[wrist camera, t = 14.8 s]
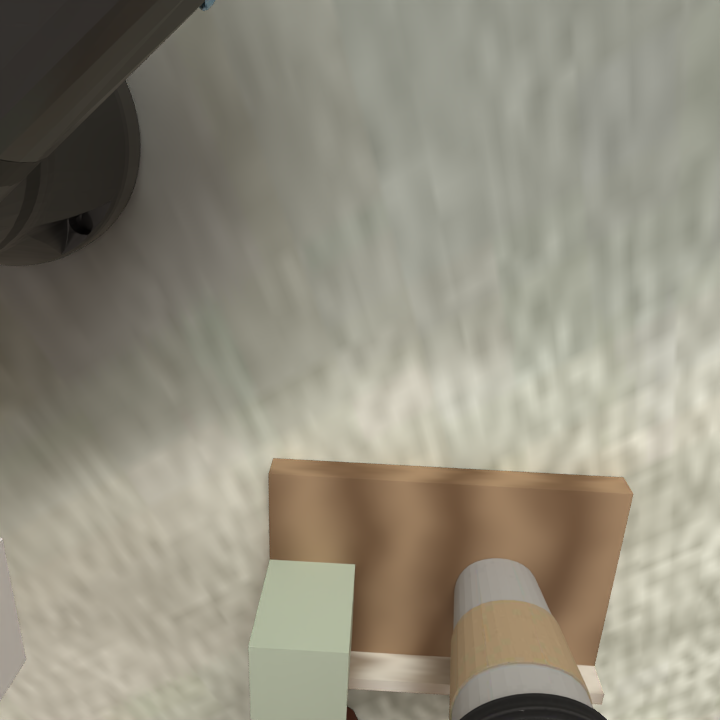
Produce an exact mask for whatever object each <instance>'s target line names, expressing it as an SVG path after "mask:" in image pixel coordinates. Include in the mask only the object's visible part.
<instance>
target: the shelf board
mask: <svg viewBox="0 0 720 720" xmlns="http://www.w3.org/2000/svg"><path fill="white" fill-rule="evenodd" d="M632 497H633V493H632V491H631V489H630V488H629V486H628V484H627V482H626V481H625V479H624V478H623V477H604V476H586V475H568V474H550V473H531V472H513V471H495V470H476V469H458V468H440V467H422V466H403V465H385V464H367V463H349V462H330V461H312V460H294V459H275V458H273V461H272V464H271V468H270V471H269V535H270V560H287V561H304V562H321V563H338V564H355V579H354V602H353V624H352V641H351V656H350V670H349V685H348V689H360V690H376V691H392V692H409V693H425V694H441V695H450V660H451V638H452V634H453V623H454V589H455V585H456V581H457V579H458V577H459V575H460V574H461V573H462V571H463V570H464V569H465V568H467V567H468V566H469V565H471V564H473V563H475V562H477V561H480V560H484V559H491V558H502V559H509V560H512V561H516V562H518V563H520V564H522V565H524V566H525V567H527V568H528V569H529V570H530V571H531V573H532V574H533V575H534V577H535V579H536V581H537V583H538V586H539V588H540V590H541V592H542V595H543V597H544V599H545V601H546V603H547V606H548V608H549V610H550V612H551V614H552V615H553V617H554V618H555V620H556V621H557V622H558V624H559V626H560V629H561V631H562V633H563V635H564V637H565V640H566V642H567V644H568V646H569V649H570V651H571V653H572V655H573V657H574V660H575V662H576V664H577V666H578V668H579V671H580V673H581V675H582V677H583V680H584V682H585V684H586V686H587V688H588V691H589V694H590V697H591V699H592V704H602V701H603V697H604V692H603V690H602V687H601V684H600V681H599V678H598V675H597V672H596V669H595V661H596V657H597V652H598V648H599V643H600V639H601V635H602V630H603V626H604V621H605V617H606V612H607V608H608V604H609V599H610V595H611V590H612V586H613V581H614V577H615V573H616V568H617V564H618V559H619V555H620V550H621V546H622V542H623V537H624V533H625V528H626V524H627V519H628V515H629V511H630V506H631V502H632Z"/></svg>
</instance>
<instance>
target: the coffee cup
mask: <svg viewBox="0 0 720 720" xmlns="http://www.w3.org/2000/svg"><path fill="white" fill-rule="evenodd" d="M449 719H450V720H607V719H606V718H605V717H604V716H602V715H601V714H600V713H599V712H597V711H596V710H595V709H593V706H592V699H591V697H590V694H589V691H588V688H587V686H586V684H585V682H584V680H583V677H582V675H581V673H580V671H579V668H578V666H577V664H576V662H575V660H574V657H573V655H572V653H571V651H570V649H569V646H568V644H567V642H566V640H565V637H564V635H563V633H562V631H561V629H560V626H559V624H558V622H557V621H556V620H555V618H554V617H553V615H552V614H551V612H550V610H549V608H548V606H547V603H546V601H545V599H544V597H543V595H542V592H541V590H540V588H539V586H538V583H537V581H536V579H535V577H534V575H533V574H532V573H531V571H530V570H529V569H528V568H527V567H525V566H524V565H522V564H520V563H518V562H516V561H512V560H509V559H502V558H491V559H484V560H480V561H477V562H475V563H473V564H471V565H469V566H468V567H467V568H465V569H464V570H463V571H462V573H461V574H460V575H459V577H458V579H457V581H456V585H455V589H454V623H453V634H452V638H451V660H450V709H449Z"/></svg>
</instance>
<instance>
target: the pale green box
mask: <svg viewBox="0 0 720 720" xmlns="http://www.w3.org/2000/svg"><path fill="white" fill-rule="evenodd" d="M354 579H355V564H338V563H321V562H304V561H287V560H270V561H269V565H268V569H267V573H266V577H265V581H264V585H263V589H262V593H261V597H260V601H259V605H258V609H257V613H256V618H255V622H254V626H253V630H252V634H251V638H250V642H249V646H248V656H249V688H250V720H346V714H347V700H348V685H349V670H350V656H351V641H352V624H353V602H354Z"/></svg>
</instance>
